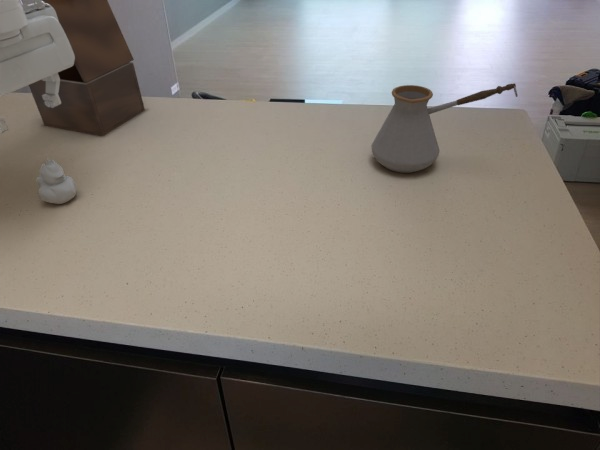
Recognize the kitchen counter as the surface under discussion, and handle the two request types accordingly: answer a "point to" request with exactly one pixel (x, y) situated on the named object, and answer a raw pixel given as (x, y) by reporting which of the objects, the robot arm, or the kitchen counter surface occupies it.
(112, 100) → the chest
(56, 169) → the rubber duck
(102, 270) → the kitchen counter surface
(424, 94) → the coffee pot
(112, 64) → the lid
